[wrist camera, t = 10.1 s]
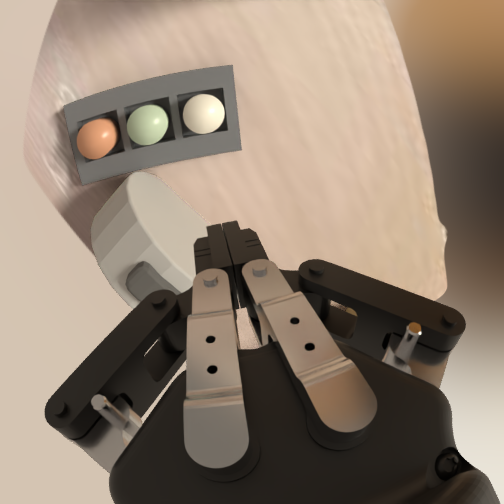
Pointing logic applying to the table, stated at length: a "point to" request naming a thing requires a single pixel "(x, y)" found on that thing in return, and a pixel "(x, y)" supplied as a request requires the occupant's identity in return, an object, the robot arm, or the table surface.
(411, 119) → the table surface
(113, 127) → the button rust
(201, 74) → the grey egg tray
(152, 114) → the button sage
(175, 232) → the alarm clock
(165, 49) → the table surface
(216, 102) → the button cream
